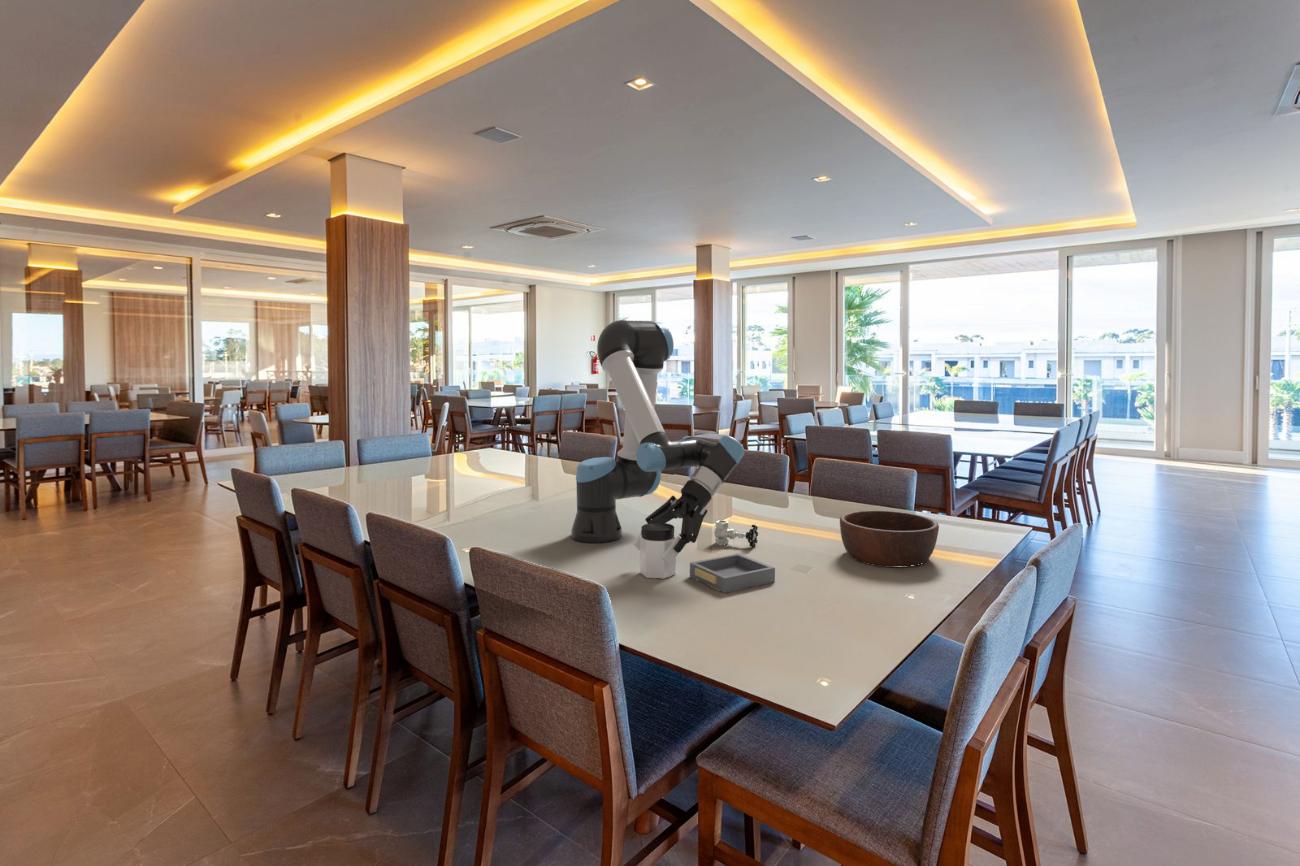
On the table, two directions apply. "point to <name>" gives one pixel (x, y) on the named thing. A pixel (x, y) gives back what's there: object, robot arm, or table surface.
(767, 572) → the tray
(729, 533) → the valve
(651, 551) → the jar
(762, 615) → the table surface
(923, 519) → the wooden bowl
